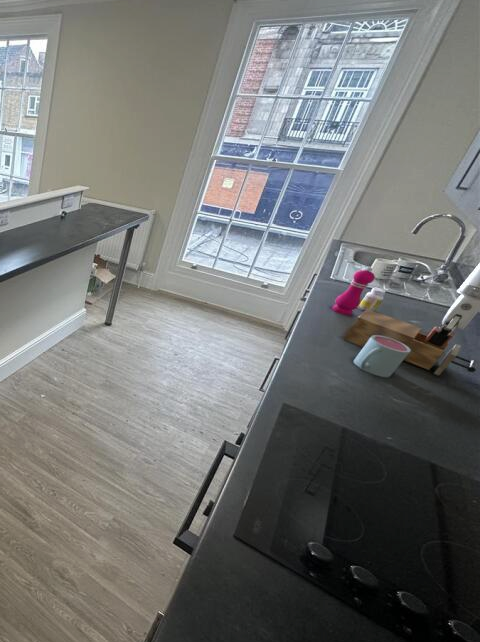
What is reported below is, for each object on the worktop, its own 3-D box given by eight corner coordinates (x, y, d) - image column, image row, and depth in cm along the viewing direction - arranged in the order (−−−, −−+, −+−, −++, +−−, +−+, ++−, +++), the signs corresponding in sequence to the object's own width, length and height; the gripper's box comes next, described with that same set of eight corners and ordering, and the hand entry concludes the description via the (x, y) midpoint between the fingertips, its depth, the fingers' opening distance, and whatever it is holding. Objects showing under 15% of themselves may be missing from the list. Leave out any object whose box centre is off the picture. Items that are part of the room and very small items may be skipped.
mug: (362, 358, 133) (381, 333, 128) (396, 375, 126) (417, 349, 121) (338, 364, 128) (356, 339, 123) (371, 383, 121) (391, 356, 116)
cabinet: (403, 351, 140) (421, 328, 135) (395, 361, 133) (414, 338, 128) (352, 331, 150) (367, 309, 145) (342, 340, 143) (358, 317, 138)
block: (445, 343, 129) (454, 332, 126) (443, 347, 126) (453, 336, 124) (426, 337, 132) (436, 326, 129) (424, 340, 129) (433, 329, 127)
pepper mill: (343, 317, 159) (374, 271, 149) (325, 308, 165) (353, 263, 155) (356, 316, 161) (387, 270, 151) (337, 307, 167) (366, 263, 157)
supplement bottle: (371, 310, 168) (386, 289, 163) (375, 315, 164) (390, 294, 159) (355, 306, 170) (369, 285, 165) (358, 311, 166) (373, 290, 161)
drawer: (467, 373, 129) (485, 354, 125) (462, 385, 123) (481, 365, 119) (391, 344, 141) (406, 325, 137) (384, 353, 135) (398, 334, 131)
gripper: (493, 303, 112) (447, 355, 122) (498, 291, 122) (455, 340, 131) (456, 292, 117) (414, 343, 127) (463, 281, 127) (424, 330, 136)
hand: (435, 341), depth 129 cm, fingers closed on block, 4 cm apart
